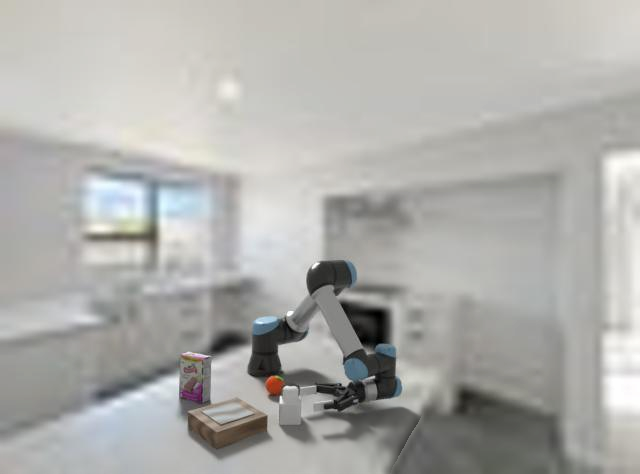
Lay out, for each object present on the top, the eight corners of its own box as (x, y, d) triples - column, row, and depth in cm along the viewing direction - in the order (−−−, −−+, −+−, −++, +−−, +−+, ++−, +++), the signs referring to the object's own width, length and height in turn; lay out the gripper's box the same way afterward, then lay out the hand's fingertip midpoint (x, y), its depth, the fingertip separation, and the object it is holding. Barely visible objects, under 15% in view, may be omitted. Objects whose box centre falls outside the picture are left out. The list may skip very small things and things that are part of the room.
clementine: (288, 392, 170) (289, 374, 169) (281, 399, 163) (281, 380, 163) (270, 389, 172) (270, 371, 172) (262, 395, 166) (262, 377, 166)
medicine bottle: (279, 416, 149) (280, 381, 148) (300, 415, 149) (301, 381, 149) (278, 425, 142) (279, 389, 141) (300, 425, 142) (301, 389, 142)
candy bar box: (178, 398, 161) (179, 354, 161) (187, 393, 166) (188, 350, 165) (202, 404, 156) (203, 359, 156) (211, 399, 161) (212, 355, 160)
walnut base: (187, 426, 139) (188, 410, 139) (236, 411, 151) (236, 396, 151) (216, 449, 126) (216, 431, 126) (267, 430, 138) (267, 414, 138)
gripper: (379, 416, 144) (320, 426, 136) (345, 389, 167) (293, 396, 158) (380, 393, 144) (321, 402, 135) (345, 369, 167) (293, 376, 158)
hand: (305, 399), depth 147 cm, fingers open, 13 cm apart
